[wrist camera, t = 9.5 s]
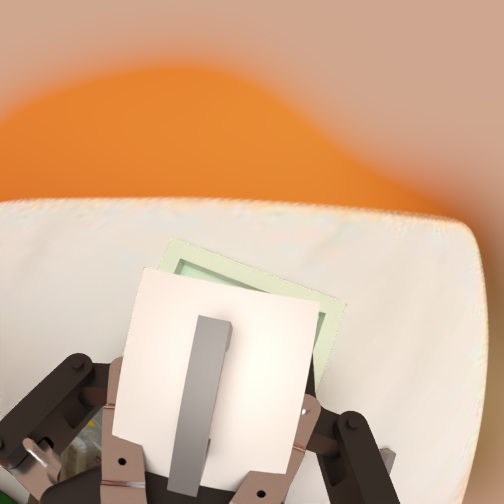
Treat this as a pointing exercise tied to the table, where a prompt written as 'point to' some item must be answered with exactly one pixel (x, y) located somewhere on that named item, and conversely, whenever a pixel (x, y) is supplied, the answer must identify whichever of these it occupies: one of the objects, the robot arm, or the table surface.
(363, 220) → the table surface
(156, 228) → the table surface
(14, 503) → the milk carton
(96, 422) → the beverage carton
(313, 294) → the tray
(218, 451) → the white tall block
